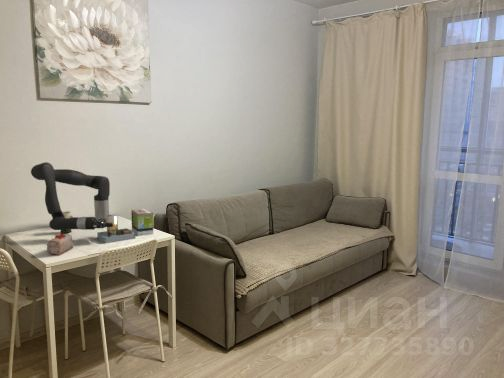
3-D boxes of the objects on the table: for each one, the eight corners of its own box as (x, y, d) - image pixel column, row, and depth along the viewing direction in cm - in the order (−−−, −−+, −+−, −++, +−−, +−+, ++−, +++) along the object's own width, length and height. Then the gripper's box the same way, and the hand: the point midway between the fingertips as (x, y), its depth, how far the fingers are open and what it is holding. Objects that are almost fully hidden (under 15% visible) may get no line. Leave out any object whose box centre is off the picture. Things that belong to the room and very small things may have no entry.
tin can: (105, 238, 246) (105, 215, 244) (116, 236, 249) (115, 214, 247) (109, 240, 241) (108, 217, 239) (119, 239, 245) (118, 216, 242)
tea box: (154, 235, 257) (153, 212, 254) (138, 237, 251) (137, 213, 249) (146, 229, 269) (146, 207, 267) (131, 231, 264) (130, 209, 262)
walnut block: (121, 235, 251) (121, 229, 250) (127, 234, 254) (127, 228, 253) (124, 238, 246) (124, 231, 246) (131, 237, 249) (131, 230, 248)
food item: (60, 256, 215) (59, 238, 214) (46, 255, 216) (44, 237, 215) (74, 248, 229) (73, 231, 227) (61, 247, 230) (60, 230, 228)
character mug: (77, 231, 262) (76, 211, 260) (70, 234, 255) (69, 214, 253) (61, 230, 264) (60, 210, 262) (54, 233, 257) (53, 213, 255)
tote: (97, 239, 247) (97, 232, 246) (126, 234, 257) (126, 228, 257) (104, 244, 236) (104, 238, 235) (135, 239, 246) (135, 233, 246)
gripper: (82, 219, 235) (111, 219, 236) (90, 214, 249) (117, 214, 250) (82, 232, 236) (111, 232, 237) (90, 226, 250) (117, 226, 251)
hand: (114, 223), depth 244 cm, fingers open, 8 cm apart
